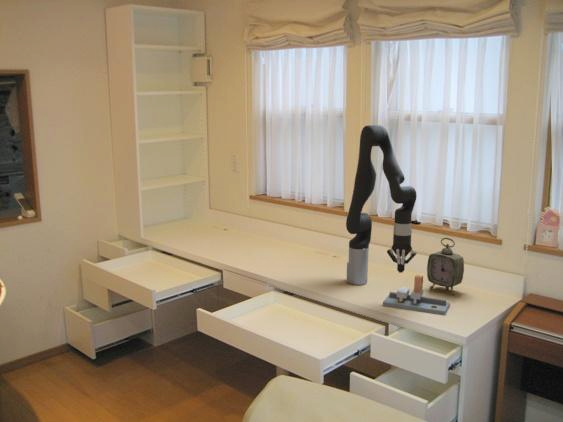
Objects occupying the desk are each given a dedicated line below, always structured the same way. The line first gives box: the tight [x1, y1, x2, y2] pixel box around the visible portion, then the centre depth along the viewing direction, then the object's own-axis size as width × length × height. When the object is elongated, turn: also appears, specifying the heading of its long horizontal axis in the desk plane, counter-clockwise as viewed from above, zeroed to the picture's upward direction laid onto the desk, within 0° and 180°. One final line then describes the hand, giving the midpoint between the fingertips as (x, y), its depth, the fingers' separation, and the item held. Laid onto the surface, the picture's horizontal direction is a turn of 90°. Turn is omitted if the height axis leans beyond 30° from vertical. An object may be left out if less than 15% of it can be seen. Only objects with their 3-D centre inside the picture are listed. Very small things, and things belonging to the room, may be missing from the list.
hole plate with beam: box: [382, 286, 451, 316], centre depth 264 cm, size 26×12×6 cm, turn 66°
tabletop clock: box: [426, 237, 465, 296], centre depth 281 cm, size 14×9×25 cm, turn 45°
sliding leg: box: [410, 274, 424, 304], centre depth 263 cm, size 4×8×10 cm, turn 156°
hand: (400, 272), depth 267 cm, fingers closed
